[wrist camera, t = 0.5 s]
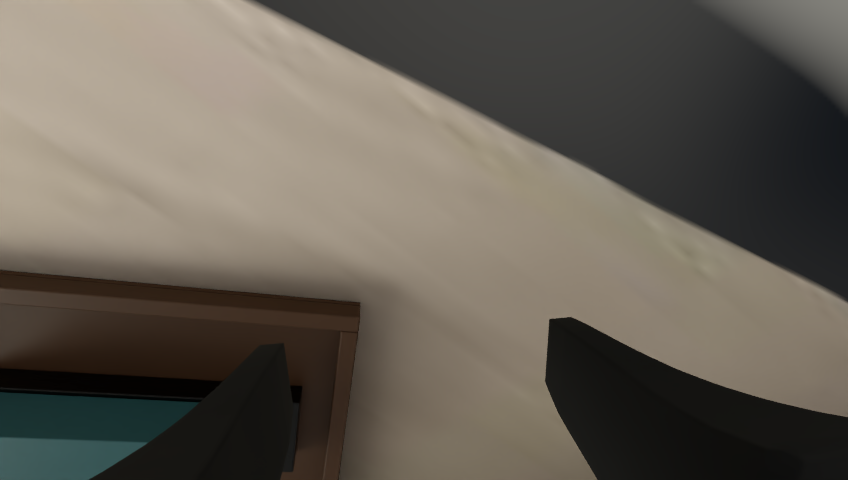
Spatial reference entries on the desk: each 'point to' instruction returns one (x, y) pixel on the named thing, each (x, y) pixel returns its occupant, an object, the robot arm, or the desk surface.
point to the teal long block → (93, 420)
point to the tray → (188, 342)
